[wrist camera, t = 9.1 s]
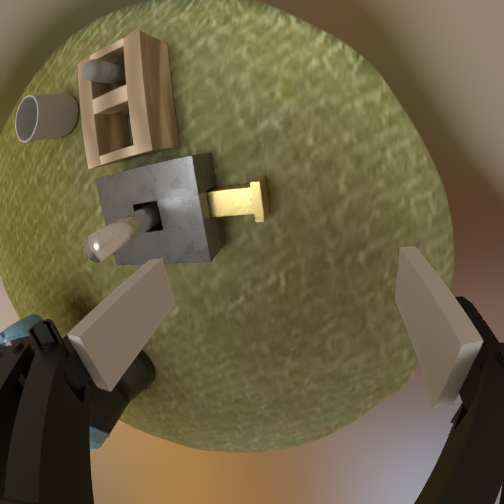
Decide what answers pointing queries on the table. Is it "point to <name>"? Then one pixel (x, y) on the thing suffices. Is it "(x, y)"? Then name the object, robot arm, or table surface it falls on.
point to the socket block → (166, 210)
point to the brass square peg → (240, 200)
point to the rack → (127, 100)
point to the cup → (45, 117)
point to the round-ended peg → (121, 232)
